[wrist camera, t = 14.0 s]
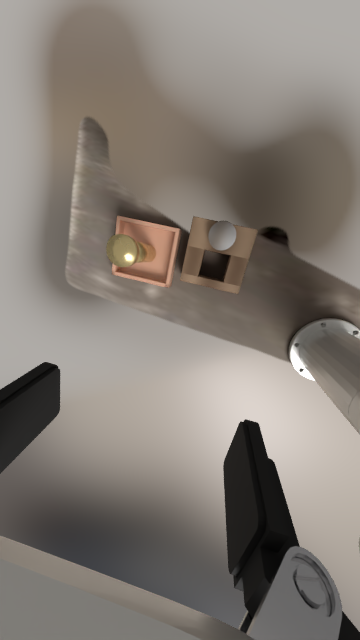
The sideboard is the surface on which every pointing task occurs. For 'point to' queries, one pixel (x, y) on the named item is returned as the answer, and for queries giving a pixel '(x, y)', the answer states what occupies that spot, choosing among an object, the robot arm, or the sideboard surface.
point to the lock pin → (128, 251)
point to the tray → (164, 245)
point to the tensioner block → (222, 241)
